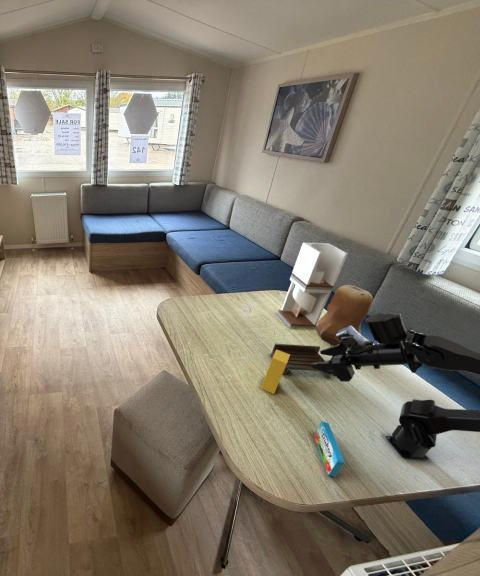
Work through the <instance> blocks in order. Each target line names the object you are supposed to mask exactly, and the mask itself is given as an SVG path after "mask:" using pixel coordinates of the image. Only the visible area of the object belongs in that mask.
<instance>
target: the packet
mask: <svg viewBox="0 0 480 576" xmlns="http://www.w3.org/2000/svg"><path fill="white" fill-rule="evenodd" d="M289 357H290V354H287V353H284V352H282V351H279V350H276V352H275V354H274V356H273V358H271V361H270V363H269V366H268V369H267V371H266V374H265V377H264V379H263V381H262V384H261V386H260V389H262V390H263V391H267V392H268V393H270V394H272V395H275V393H276V390H277V388H278V386H279V384H280V381H281V378H282V377H283V375H282V374H283V372H284V369H285V367H286V364H287V362H288V359H289Z"/></svg>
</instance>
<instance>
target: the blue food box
mask: <svg viewBox="0 0 480 576" xmlns="http://www.w3.org/2000/svg"><path fill="white" fill-rule="evenodd" d="M313 438H314V440H315V443H316V446H317V449H318V452H319V455H320V457H321V461H322V464H323V466H324V469H325V471H326V474H327V476H330V477H333V478H336V477H337V476H338V474H339V472H340V471H341V470H342V469H343V467H344V465H345V459H344V457H343V454H342V451H341V449H340V448H339V445H338V442H337V440H336V438H335V435H334V433H333V431H332V428H331V425H330V423H329V422H327V421H322V420H321V421H320V423H319V425H318V426H317V428H316V430H315V432H314V433H313Z"/></svg>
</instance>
